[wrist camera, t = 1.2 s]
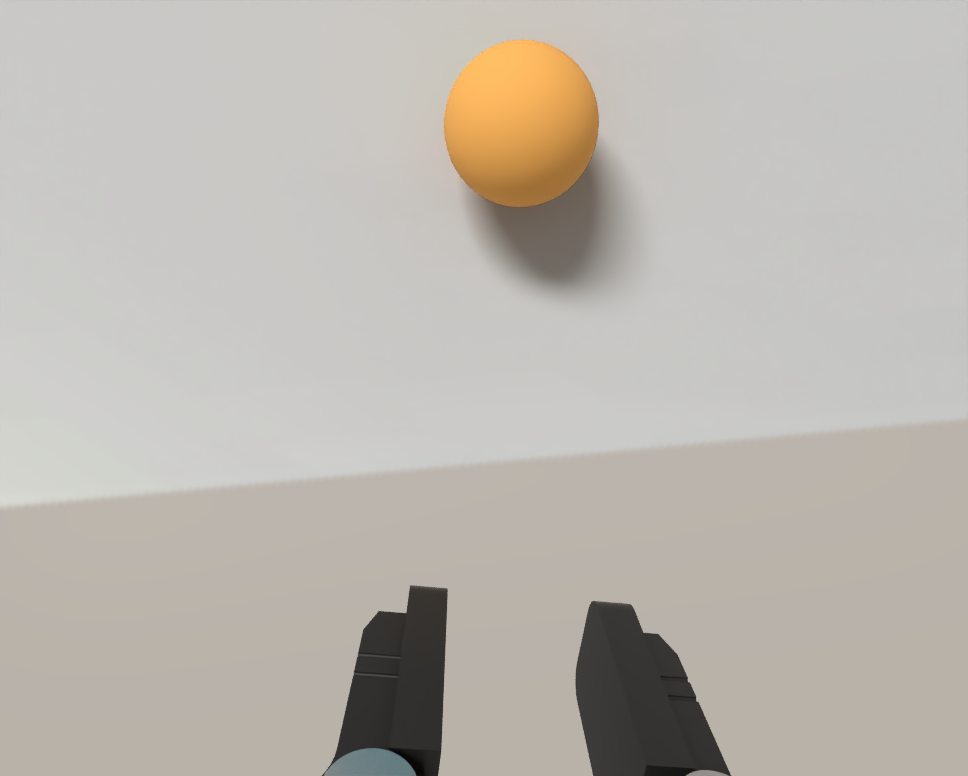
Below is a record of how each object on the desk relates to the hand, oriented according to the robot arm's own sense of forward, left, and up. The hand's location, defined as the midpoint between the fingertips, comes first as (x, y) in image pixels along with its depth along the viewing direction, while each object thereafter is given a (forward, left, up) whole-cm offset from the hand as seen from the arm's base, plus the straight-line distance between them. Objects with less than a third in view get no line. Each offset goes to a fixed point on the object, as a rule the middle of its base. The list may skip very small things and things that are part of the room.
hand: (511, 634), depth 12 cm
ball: (0, -10, -14) cm, 18 cm away
